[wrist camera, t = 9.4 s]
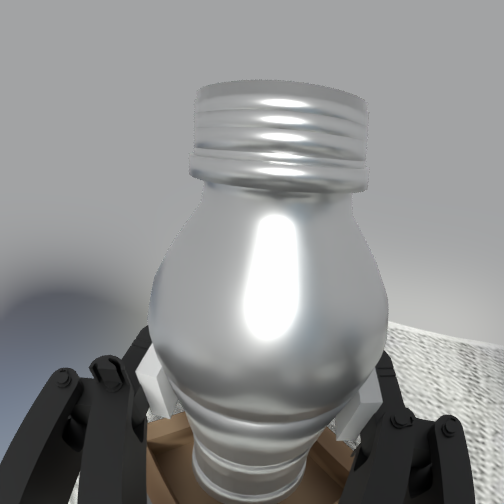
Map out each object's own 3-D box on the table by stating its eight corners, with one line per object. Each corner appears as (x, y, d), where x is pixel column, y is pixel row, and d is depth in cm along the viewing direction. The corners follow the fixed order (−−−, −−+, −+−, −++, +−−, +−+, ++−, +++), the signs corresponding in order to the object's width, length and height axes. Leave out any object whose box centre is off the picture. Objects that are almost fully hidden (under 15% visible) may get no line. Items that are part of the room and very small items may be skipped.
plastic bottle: (217, 426, 17) (206, 108, 9) (306, 448, 15) (402, 126, 7) (181, 494, 12) (49, 101, 3) (283, 524, 10) (516, 111, 1)
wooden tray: (270, 399, 24) (275, 373, 22) (366, 495, 14) (388, 480, 12) (136, 450, 17) (121, 430, 15) (215, 581, 7) (210, 588, 5)
